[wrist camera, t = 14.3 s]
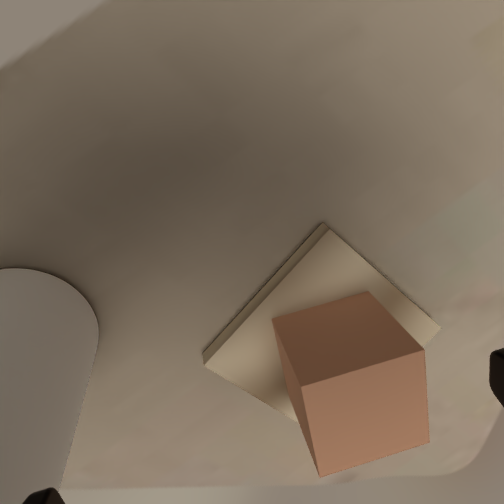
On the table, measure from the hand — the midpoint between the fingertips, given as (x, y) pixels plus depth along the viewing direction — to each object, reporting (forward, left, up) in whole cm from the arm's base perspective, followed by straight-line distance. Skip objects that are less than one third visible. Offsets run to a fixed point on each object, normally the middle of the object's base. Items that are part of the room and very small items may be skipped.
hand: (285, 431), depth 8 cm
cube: (+8, -1, -11) cm, 14 cm away
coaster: (+8, -1, -12) cm, 14 cm away
